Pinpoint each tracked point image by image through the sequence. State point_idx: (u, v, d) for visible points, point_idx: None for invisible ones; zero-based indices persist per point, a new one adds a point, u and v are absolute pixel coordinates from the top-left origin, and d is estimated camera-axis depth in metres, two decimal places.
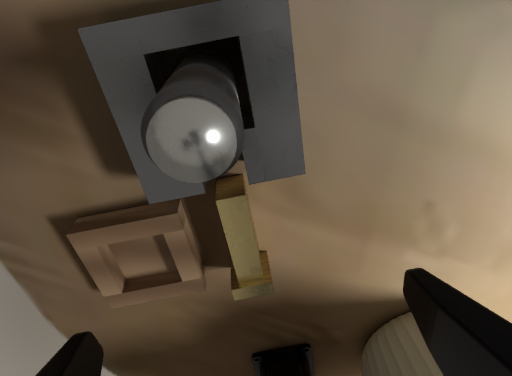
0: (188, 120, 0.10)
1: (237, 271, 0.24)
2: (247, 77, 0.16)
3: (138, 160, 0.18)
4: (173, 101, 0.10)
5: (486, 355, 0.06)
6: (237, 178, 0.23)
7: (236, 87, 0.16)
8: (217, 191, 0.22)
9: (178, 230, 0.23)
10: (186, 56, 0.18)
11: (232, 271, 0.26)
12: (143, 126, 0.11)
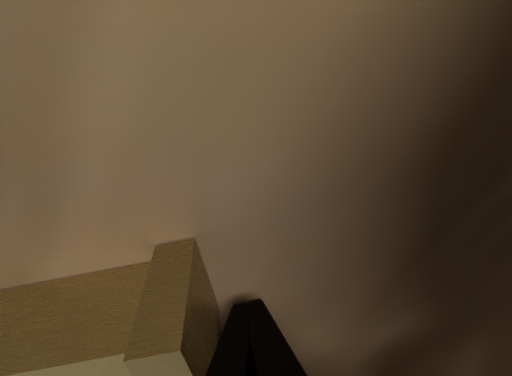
0: None
1: None
2: None
3: None
4: None
5: None
6: None
7: None
8: None
9: None
10: None
11: None
12: None
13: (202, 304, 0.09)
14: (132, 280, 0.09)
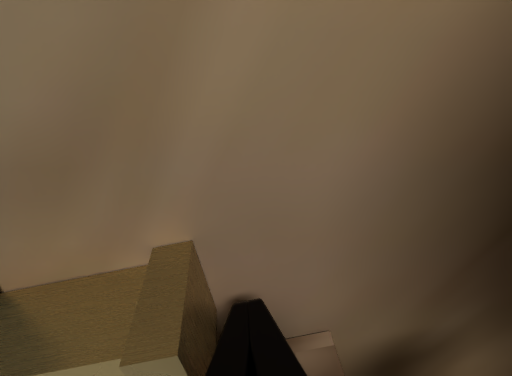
0: None
1: None
2: None
3: None
4: None
5: None
6: None
7: None
8: None
9: None
10: None
11: None
12: None
13: (200, 307, 0.09)
14: (129, 283, 0.09)
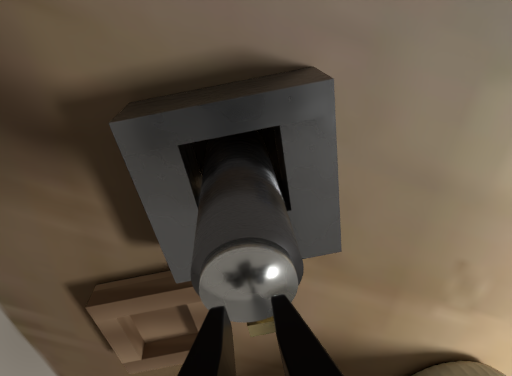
0: (247, 269, 0.09)
1: None
2: (286, 164, 0.15)
3: (167, 243, 0.17)
4: (232, 253, 0.09)
5: None
6: None
7: None
8: None
9: None
10: None
11: None
12: (194, 267, 0.10)
13: None
14: None
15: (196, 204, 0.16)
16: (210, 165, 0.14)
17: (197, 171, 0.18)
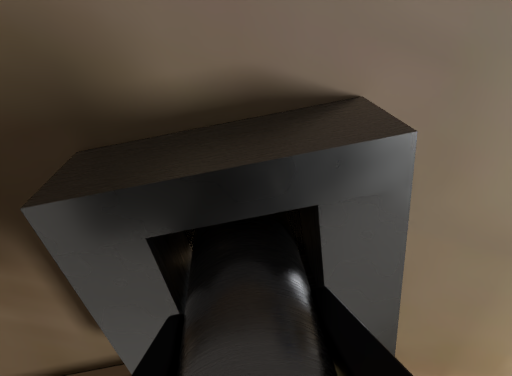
0: None
1: None
2: (324, 258, 0.10)
3: (136, 364, 0.11)
4: None
5: None
6: None
7: None
8: None
9: None
10: None
11: None
12: None
13: None
14: None
15: None
16: (200, 275, 0.08)
17: (184, 247, 0.12)
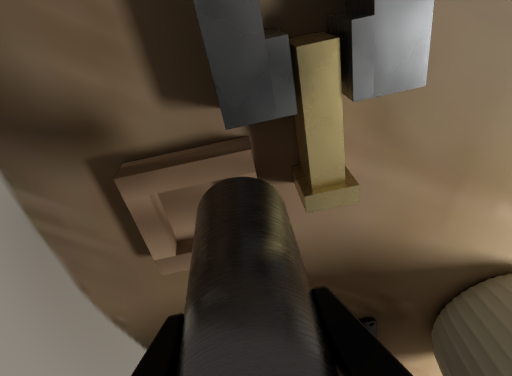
0: None
1: (312, 170, 0.18)
2: None
3: (218, 64, 0.14)
4: None
5: None
6: (314, 34, 0.16)
7: None
8: (293, 43, 0.15)
9: (249, 172, 0.19)
10: (214, 196, 0.11)
11: (299, 179, 0.20)
12: None
13: None
14: None
15: (258, 0, 0.13)
16: (200, 273, 0.08)
17: None
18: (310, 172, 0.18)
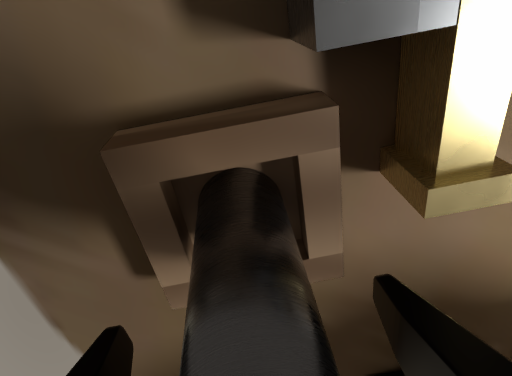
0: None
1: (444, 144, 0.10)
2: None
3: None
4: None
5: (441, 364, 0.06)
6: None
7: None
8: None
9: (330, 148, 0.11)
10: (215, 185, 0.12)
11: (403, 163, 0.12)
12: None
13: None
14: None
15: None
16: (203, 254, 0.09)
17: None
18: (439, 148, 0.10)
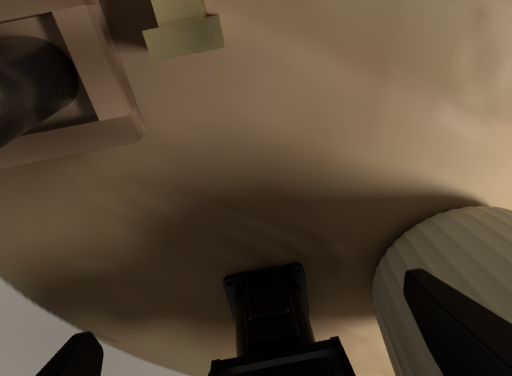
0: None
1: None
2: None
3: None
4: None
5: (486, 355, 0.06)
6: None
7: (37, 82, 0.13)
8: None
9: (77, 5, 0.14)
10: None
11: (154, 27, 0.15)
12: None
13: None
14: None
15: None
16: None
17: None
18: None
